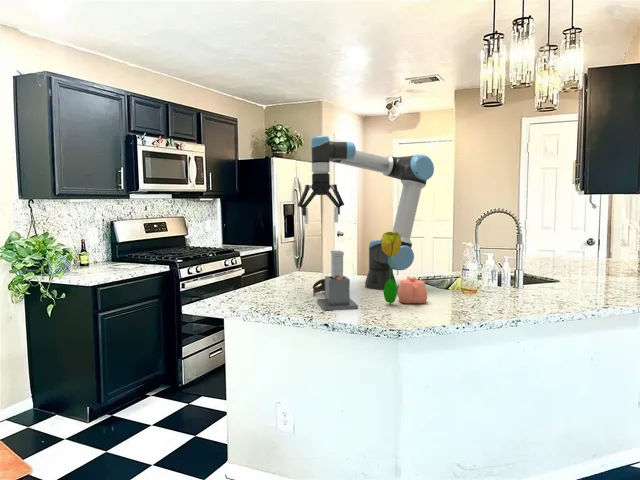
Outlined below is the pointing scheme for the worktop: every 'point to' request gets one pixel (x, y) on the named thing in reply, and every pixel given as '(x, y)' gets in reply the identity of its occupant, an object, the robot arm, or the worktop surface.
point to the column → (336, 264)
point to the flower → (390, 248)
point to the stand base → (337, 295)
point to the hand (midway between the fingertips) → (321, 223)
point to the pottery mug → (319, 288)
